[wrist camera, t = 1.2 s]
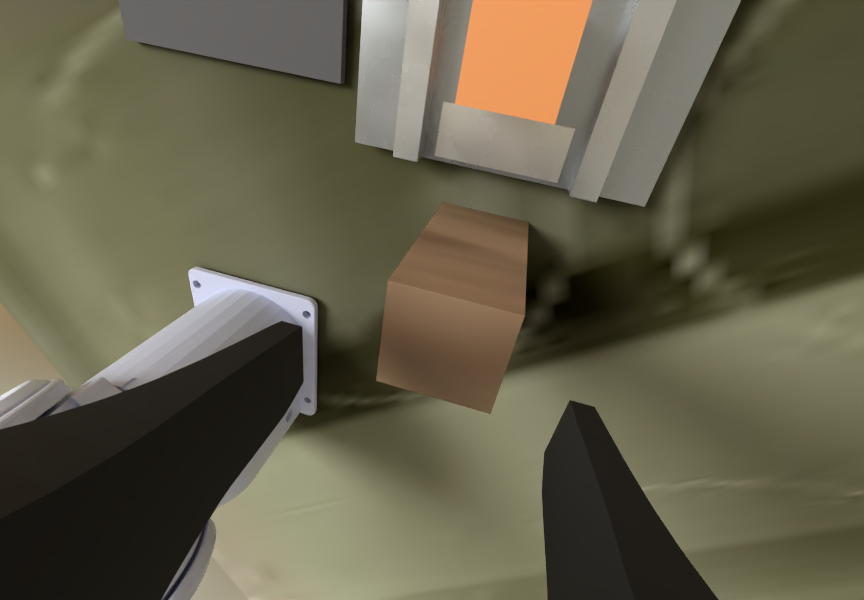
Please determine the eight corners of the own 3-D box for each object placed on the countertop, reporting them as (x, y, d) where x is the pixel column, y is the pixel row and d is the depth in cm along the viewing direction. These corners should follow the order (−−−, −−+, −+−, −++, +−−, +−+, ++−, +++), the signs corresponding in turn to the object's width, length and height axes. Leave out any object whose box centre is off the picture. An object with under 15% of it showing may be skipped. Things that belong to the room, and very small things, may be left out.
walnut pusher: (505, 297, 20) (490, 413, 13) (429, 277, 20) (376, 380, 13) (528, 222, 18) (525, 315, 11) (443, 202, 18) (387, 279, 11)
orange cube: (550, 114, 14) (554, 124, 11) (470, 97, 15) (454, 104, 12) (580, 13, 13) (593, -4, 10) (489, -3, 13) (476, -24, 10)
